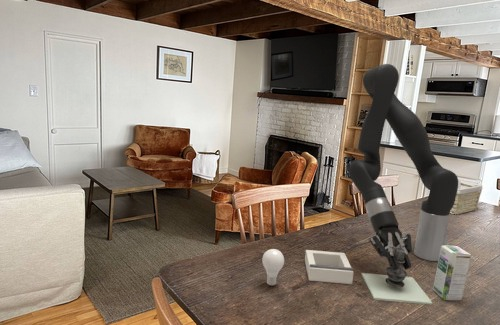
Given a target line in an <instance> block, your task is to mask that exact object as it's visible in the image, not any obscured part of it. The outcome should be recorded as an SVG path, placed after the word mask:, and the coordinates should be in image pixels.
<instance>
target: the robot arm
mask: <svg viewBox="0 0 500 325" xmlns="http://www.w3.org/2000/svg"><path fill="white" fill-rule="evenodd" d="M399 79H400V76H399V71H398V69H397V68H396V66H394V65H393V64H390V63H383V64H381V65H377V66H375V67H373V68H371V69H368V70H367V71H366V72H365V73H364V74H363V77H362V85H363V87H364V89H365V91H366V92H367V94H368V95H369V96H370V98H371V99H372V100H371V104H370V108H369V111H368V113H367V115H366V117H365V119H364V121H363V124H362V126H361V130H360V134H359V140H358V145H357V149H358V152H359V153H362V154H363V156H364V160H363V159H355V160H353V161H351V162H350V164H349V167H348V173H349V174H348V175H349V177H350V179H351V181H352V183H353V184H354V186H355V187H356V188H357V190H358V192H359V193H360V194H361V196H362V198H363V203H364V205H365V207H366V211H367V216H368V218H369V221H370V223H371V226H372V228H373V229H372V230H373V231H374V232H375V235H374V236H372V237H371V238H369V242H370V243H371V244H372V246H373V248H374V249H375V251H376V252H377V254H378V255H379V256H380V257H385V258H386V260H387V261H388V264H389V267H391V268H392V269H393V271H394V270H398V269H399V266H398V263H397V261H396V258H395V256H394V250H395V248H398V247H399V246H400V245H401V246H402V247H401V248H403V249H404V250H405V256H404V260H405V262H404V264H403V270H409V269H411V268H412V262H411V260H410V257H409V256H408V255H409V254H410V253H412V252H413V254H414V255H415V256H416V257H418V258H420V259H422V260H425V261H430V262H438V260H439V255H440V250H441V246H445V245H448V241H449V234H447V230H448V225H449V219H450V215H451V214H450V210H451V209H452V207H453V206H454V202H455V198H456V194H457V189H458V180H459V177H458V176H457V174H456V173H455V172H453V171H452V170H450V169H447V168H444V167H443V166H442V165H441V164H440V163H439V162H438V160H437V158H436V157H435V156H434V154H433V152H432V149H431V144H430V138H429V137H430V136H429V134H428V133H427V130H426V127H425V126H424V124H423V123H422V121H421V119H420V118H419V117H418V115H417V114H416V113H415V112H413V110H411V109H410V108H408V106H406V104H404V103H403V102H401V101H400V99H399V98H398V97H397V95H396V94H395V92H396V90H397V87H398V83H399ZM386 121H387V123H388V125H389V126H390V128H391V129H392V131H393V133H394V135H395V137H396V139H397V140H398V142H399V144H400V145H401V147H402V149H403V150H404V151H405V152H406V154H407V156H408V157H409V159H410V161H412V163H413V165H414V166H415V169H416V171H417V173H418V176H419V178H420V180H421V182H422V184H423V186H424V187H425V188H426V189H427V190H429V193H428V198H427V200H424V201H422V202H421V206H420V213H419V218H418V226H417V231H416V232H417V233H416V237H415V244H414V250H413V247H412V246H413V244H412V236H411V234H410V233H406V234H405V233H402V231H401V230H400V228H399V221H398V219H397V217H396V215H395V212H394V209H393V208H392V205H391V203H390V202H389V199H388V197H387V195H386V192H385V190H384V188H383V186H382V185H381V183H380V184H379V183H378V182H376V180H378V178H379V176H380V173H381V171H382V170H381V169H382V168H381V165H382V164H381V153H380V148H381V143H382V139H383V133H384V132H383V131H384V129H385V128H384V127H385V123H386ZM393 249H394V250H393Z"/></svg>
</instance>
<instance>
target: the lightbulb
mask: <svg viewBox="0 0 500 325" xmlns="http://www.w3.org/2000/svg"><path fill="white" fill-rule="evenodd" d="M261 261H262V265H263V267H264V269H265V272H266V275H267V278H266V284H267V285H268V286H275V285H276V284H277V277H278V274H279V272H280V271H281V269H282V268H283V267H284V264H285V257H284V255H283V253H282V252H281V251H280V250H279V249H276V248H270V249H268V250H266V251H265V252H264V253H263V255H262V260H261Z"/></svg>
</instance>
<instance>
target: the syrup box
mask: <svg viewBox="0 0 500 325" xmlns="http://www.w3.org/2000/svg"><path fill="white" fill-rule="evenodd" d="M471 258H472V254H471V253H469V252H467V251H465V250H464V249H462V248H461V247H460V246H456V245H448V244H447V245H445V246H441V250H440V255H439V260H438V261H437V265H436V266H437V267H436V271H435V278H434V283H433V286H432V290H433V292H435V293H436V294H437V295H438V296H439V297H440V298H441V299H442V300H443V301H462V300H463V298H464V297H463V295H464V291H465V287H466V282H467V277H468V274H469V273H468V272H469V268H470V262H471Z"/></svg>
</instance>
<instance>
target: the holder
mask: <svg viewBox="0 0 500 325" xmlns="http://www.w3.org/2000/svg"><path fill="white" fill-rule="evenodd" d="M304 264H305V268H306V273H307V278H308V281H309V282H310V281H311V282H312V281H313V282H322V283H323V282H325V283H333V284H334V283H336V284H343V285H344V284H346V285H353V279H354V267H352V266H351V264H350V262H349V260H348V257H347V256H346V253H344V252H339V251H338V252H337V251H324V250H314V249H313V250H312V249H311V250H310V249H305V257H304Z"/></svg>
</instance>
